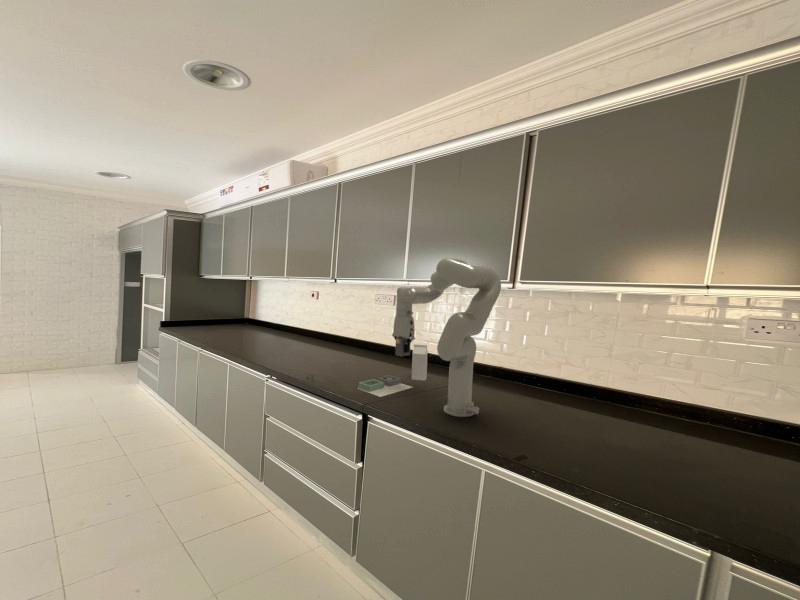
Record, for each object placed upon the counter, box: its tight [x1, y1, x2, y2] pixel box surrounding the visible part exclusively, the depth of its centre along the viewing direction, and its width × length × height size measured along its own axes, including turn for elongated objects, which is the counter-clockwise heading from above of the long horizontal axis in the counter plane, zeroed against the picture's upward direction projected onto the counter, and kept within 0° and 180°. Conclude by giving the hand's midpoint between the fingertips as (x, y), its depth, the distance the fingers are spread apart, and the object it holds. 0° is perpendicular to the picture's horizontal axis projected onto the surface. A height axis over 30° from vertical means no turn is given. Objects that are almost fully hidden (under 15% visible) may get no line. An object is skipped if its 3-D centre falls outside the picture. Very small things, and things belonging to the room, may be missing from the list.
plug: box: [394, 337, 411, 358], centre depth 166 cm, size 4×7×8 cm, turn 136°
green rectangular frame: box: [358, 378, 384, 393], centre depth 166 cm, size 8×10×3 cm
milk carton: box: [411, 344, 429, 382], centre depth 186 cm, size 7×7×19 cm
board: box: [357, 374, 413, 398], centre depth 167 cm, size 16×22×4 cm
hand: (402, 351), depth 167 cm, fingers closed on plug, 4 cm apart
